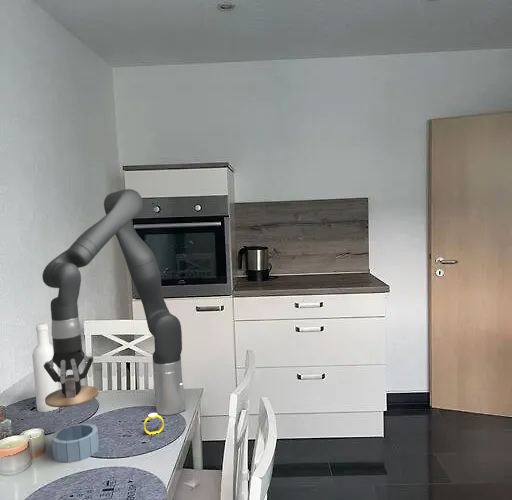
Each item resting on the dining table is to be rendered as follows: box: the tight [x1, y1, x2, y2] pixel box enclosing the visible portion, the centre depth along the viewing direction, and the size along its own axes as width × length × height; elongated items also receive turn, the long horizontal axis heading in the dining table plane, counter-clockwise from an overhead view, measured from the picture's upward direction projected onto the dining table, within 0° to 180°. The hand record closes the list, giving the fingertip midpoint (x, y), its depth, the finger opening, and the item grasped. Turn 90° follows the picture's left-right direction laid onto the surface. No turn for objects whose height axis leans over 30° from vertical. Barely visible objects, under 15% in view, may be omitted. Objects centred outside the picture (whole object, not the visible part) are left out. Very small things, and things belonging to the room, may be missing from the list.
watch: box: [143, 412, 165, 436], centre depth 149 cm, size 6×3×6 cm, turn 107°
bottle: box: [31, 322, 60, 413], centre depth 173 cm, size 8×8×30 cm
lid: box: [45, 374, 99, 408], centre depth 139 cm, size 14×14×6 cm
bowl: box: [51, 422, 100, 464], centre depth 140 cm, size 12×12×6 cm
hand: (71, 394), depth 139 cm, fingers closed on lid
